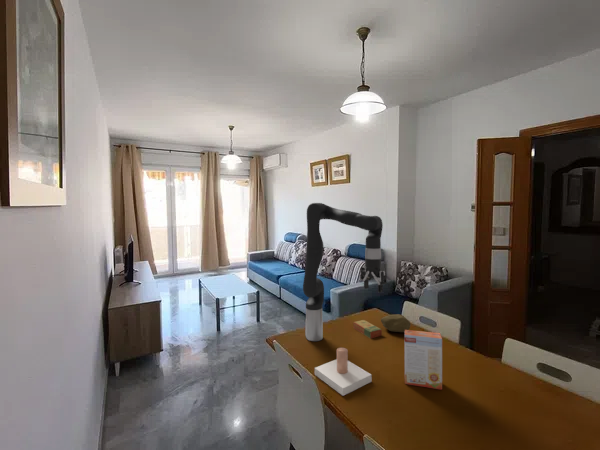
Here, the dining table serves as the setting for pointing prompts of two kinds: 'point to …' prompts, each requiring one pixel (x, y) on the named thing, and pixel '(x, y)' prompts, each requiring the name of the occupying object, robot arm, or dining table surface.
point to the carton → (367, 329)
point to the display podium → (343, 377)
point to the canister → (342, 360)
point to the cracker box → (423, 359)
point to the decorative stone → (396, 323)
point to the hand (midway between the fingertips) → (373, 290)
